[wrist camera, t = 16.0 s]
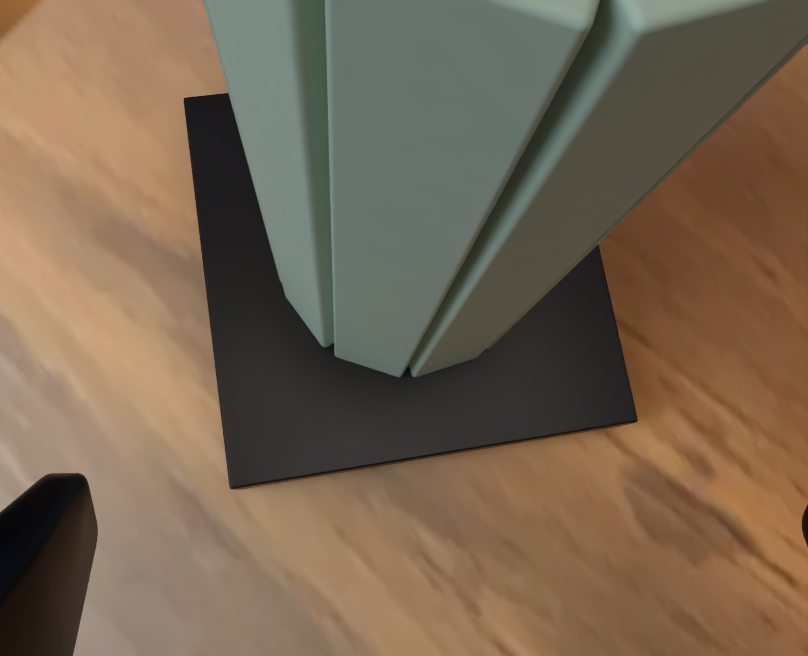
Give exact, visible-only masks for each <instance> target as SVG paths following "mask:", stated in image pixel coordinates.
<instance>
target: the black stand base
mask: <svg viewBox="0 0 808 656" xmlns="http://www.w3.org/2000/svg"><path fill="white" fill-rule="evenodd" d="M184 107H185V116H186V124H187V133H188V141H189V149H190V158H191V166H192V175H193V183H194V192H195V200H196V208H197V217H198V225H199V234H200V242H201V250H202V259H203V267H204V276H205V284H206V293H207V301H208V309H209V318H210V326H211V335H212V343H213V351H214V360H215V368H216V377H217V385H218V393H219V402H220V410H221V419H222V427H223V436H224V444H225V452H226V461H227V469H228V478H229V486H230V489H245V488H251V487H257V486H263V485H269V484H275V483H281V482H287V481H293V480H299V479H305V478H311V477H317V476H323V475H329V474H335V473H341V472H347V471H353V470H359V469H365V468H371V467H377V466H383V465H389V464H395V463H401V462H407V461H413V460H420V459H426V458H432V457H438V456H444V455H450V454H456V453H462V452H468V451H474V450H480V449H486V448H492V447H498V446H504V445H510V444H516V443H522V442H528V441H534V440H540V439H546V438H552V437H558V436H564V435H570V434H576V433H582V432H588V431H594V430H600V429H606V428H612V427H618V426H622V425H627V424H631V423H635V422H637V421H638V419H637V415H636V410H635V406H634V401H633V397H632V392H631V388H630V384H629V379H628V375H627V370H626V366H625V361H624V357H623V352H622V348H621V344H620V339H619V335H618V330H617V326H616V321H615V317H614V312H613V308H612V304H611V299H610V295H609V290H608V286H607V281H606V277H605V272H604V268H603V263H602V259H601V255H600V250H599V246H598V245H597V246H596V247H595V248H594V249H593V250H592V251H590V252H589V253H588V254H587V255H586V256H585V257H584V258H583V259H582V260H581V261H580V262H579V263H578V264H577V265H576V266H575V267H574V268H573V269H572V270H571V271H570V272H569V273H568V274H566V275H565V276H564V277H563V278H562V279H561V280H560V281H559V282H558V283H557V284H556V285H555V286H554V287H553V288H552V289H551V290H550V291H549V292H548V293H547V294H546V295H545V296H544V297H542V298H541V299H540V300H539V301H538V302H537V303H536V304H535V305H534V306H533V307H532V308H531V309H530V310H529V311H528V312H527V313H526V314H525V315H524V316H523V317H522V318H521V319H520V320H518V321H517V322H516V323H515V324H514V325H513V326H512V327H511V328H510V329H509V330H508V331H507V332H506V333H505V334H504V335H503V336H502V337H501V338H500V339H499V340H498V341H497V342H496V343H494V344H493V345H492V346H491V347H490V348H489V349H485V350H484V351H483V352H482V353H481V354H480V355H479V356H478V357H477V358H474V359H471V360H468V361H465V362H462V363H459V364H456V365H453V366H450V367H446V368H443V369H440V370H437V371H434V372H431V373H428V374H425V375H422V376H419V377H413V376H412V374H411V371H410V368H409V365H408V366H407V368H406V370H405V371H404V373H403V375H402V376H401V377H396V376H393V375H390V374H387V373H384V372H381V371H378V370H375V369H371V368H368V367H365V366H362V365H359V364H356V363H353V362H350V361H347V360H344V359H341V358H338V357H336V356H335V353H334V343H333V344H331V345H330V346H328V347H325V348H324V347H323V346H321V344H320V343H319V342H318V340H317V339H316V337H315V336H314V335H313V333H312V332H311V331H310V329H309V328H308V326H307V325H306V324H305V322H304V321H303V320H302V318H301V317H300V315H299V314H298V313H297V311H296V310H295V309H294V307H293V306H292V304H291V303H290V302H289V300H288V299H287V298H286V296H285V293H284V289H283V285H282V282H280V279H279V275H278V271H277V268H276V264H275V260H274V257H273V253H272V250H271V246H270V242H269V239H268V235H267V231H266V228H265V224H264V220H263V217H262V213H261V209H260V206H259V202H258V199H257V195H256V191H255V188H254V184H253V180H252V177H251V173H250V169H249V166H248V162H247V158H246V155H245V151H244V147H243V144H242V140H241V137H240V133H239V129H238V126H237V122H236V118H235V115H234V111H233V107H232V104H231V100H230V96H229V93H225V94H215V95H206V96H197V97H188V98H184Z"/></svg>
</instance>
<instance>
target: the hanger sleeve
mask: <svg viewBox="0 0 808 656" xmlns="http://www.w3.org/2000/svg"><path fill="white" fill-rule="evenodd" d="M203 2H204V5H205V9H206V13H207V16H208V20H209V24H210V27H211V31H212V34H213V38H214V42H215V45H216V49H217V53H218V56H219V60H220V64H221V67H222V71H223V75H224V78H225V82H226V86H227V89H228V93H229V96H230V100H231V104H232V107H233V111H234V115H235V118H236V122H237V126H238V129H239V133H240V137H241V140H242V144H243V147H244V151H245V155H246V158H247V162H248V166H249V169H250V173H251V177H252V180H253V184H254V188H255V191H256V195H257V199H258V202H259V206H260V209H261V213H262V217H263V220H264V224H265V228H266V231H267V235H268V239H269V242H270V246H271V250H272V253H273V257H274V260H275V264H276V268H277V271H278V275H279V279H280V282H282V285H283V289H284V293H285V296H286V298H287V299H288V300H289V302H290V303H291V304H292V306H293V307H294V309H295V310H296V311H297V313H298V314H299V315H300V317H301V318H302V320H303V321H304V322H305V324H306V325H307V326H308V328H309V329H310V331H311V332H312V333H313V335H314V336H315V337H316V339H317V340H318V342H319V343H320V344H321V346H323V347H324V348H325V347H328V346H330V345H331V344H333V343H334V353H335V356H336V357H338V358H341V359H344V360H347V361H350V362H353V363H356V364H359V365H362V366H365V367H368V368H371V369H375V370H378V371H381V372H384V373H387V374H390V375H393V376H396V377H401V376H402V375H403V373H404V371H405V370H406V368H407V366H408V365H409V368H410V371H411V374H412V376H413V377H419V376H422V375H425V374H428V373H431V372H434V371H437V370H440V369H443V368H446V367H450V366H453V365H456V364H459V363H462V362H465V361H468V360H471V359H474V358H477V357H478V356H479V355H480V354H481V353H482V352H483V351H484V350H485V349H489V348H490V347H491V346H492V345H493V344H494V343H496V342H497V341H498V340H499V339H500V338H501V337H502V336H503V335H504V334H505V333H506V332H507V331H508V330H509V329H510V328H511V327H512V326H513V325H514V324H515V323H516V322H517V321H518V320H520V319H521V318H522V317H523V316H524V315H525V314H526V313H527V312H528V311H529V310H530V309H531V308H532V307H533V306H534V305H535V304H536V303H537V302H538V301H539V300H540V299H541V298H542V297H544V296H545V295H546V294H547V293H548V292H549V291H550V290H551V289H552V288H553V287H554V286H555V285H556V284H557V283H558V282H559V281H560V280H561V279H562V278H563V277H564V276H565V275H566V274H568V273H569V272H570V271H571V270H572V269H573V268H574V267H575V266H576V265H577V264H578V263H579V262H580V261H581V260H582V259H583V258H584V257H585V256H586V255H587V254H588V253H589V252H590V251H592V250H593V249H594V248H595V247H596V246H597V245H598V244H599V243H600V242H601V241H602V240H603V239H604V238H605V237H606V236H607V235H608V234H609V233H610V232H611V231H612V230H613V229H614V228H616V227H617V226H618V225H619V224H620V223H621V222H622V221H623V220H624V219H625V218H626V217H627V216H628V215H629V214H630V213H631V212H632V211H633V210H634V209H635V208H636V207H637V206H638V205H640V204H641V203H642V202H643V201H644V200H645V199H646V198H647V197H648V196H649V195H650V194H651V193H652V192H653V191H654V190H655V189H656V188H657V187H658V186H659V185H660V184H661V183H662V182H664V181H665V180H666V179H667V178H668V177H669V176H670V175H671V174H672V173H673V172H674V171H675V170H676V169H677V168H678V167H679V166H680V165H681V164H682V163H683V162H684V161H685V160H686V159H688V158H689V157H690V156H691V155H692V154H693V153H694V152H695V151H696V150H697V149H698V148H699V147H700V146H701V145H702V144H703V143H704V142H705V141H706V140H707V139H708V138H709V137H710V136H712V135H713V134H714V133H715V132H716V131H717V130H718V129H719V128H720V127H721V126H722V125H723V124H724V123H725V122H726V121H727V120H728V119H729V118H730V117H731V116H732V115H733V114H734V113H736V112H737V111H738V110H739V109H740V108H741V107H742V106H743V105H744V104H745V103H746V102H747V101H748V100H749V99H750V98H751V97H752V96H753V95H754V94H755V93H756V92H757V91H758V90H759V89H761V88H762V87H763V86H764V85H765V84H766V83H767V82H768V81H769V80H770V79H771V78H772V77H773V76H774V75H775V74H776V73H777V72H778V71H779V70H780V69H781V68H782V67H783V66H785V65H786V64H787V63H788V62H789V61H790V60H791V59H792V58H793V57H794V56H795V55H796V54H797V53H798V52H799V51H800V50H801V49H802V48H803V47H804V46H805V45H806V44H807V43H808V0H203Z"/></svg>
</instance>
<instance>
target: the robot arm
mask: <svg viewBox="0 0 808 656" xmlns="http://www.w3.org/2000/svg"><path fill="white" fill-rule="evenodd" d="M802 530H803V535H804V538H805V541H806V544H807V546H808V505H807V507H806V509H805V511H804V514H803V518H802ZM97 535H98V528H97V520H96V516H95V511H94V507H93V502H92V498H91V493H90V489H89V485H88V481H87V479H86V478H85V476H84V475H82V474H79V473H52V474H48V475H45V476H44V477H42V478H41V479H40V480H38V481H37V482H36V483H35V484H34V485H32V486H31V487H30V488H29V489H28V490H26V491H25V492H24V493H23V494H22V495H20V496H19V497H18V498H17V499H16V500H14V501H13V502H12V503H11V504H10V505H8V506H7V507H6V508H5V509H4V510H2V511H1V512H0V656H73V652H74V648H75V643H76V639H77V634H78V629H79V624H80V620H81V615H82V610H83V605H84V601H85V596H86V591H87V586H88V582H89V577H90V572H91V567H92V563H93V558H94V553H95V549H96V543H97Z"/></svg>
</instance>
